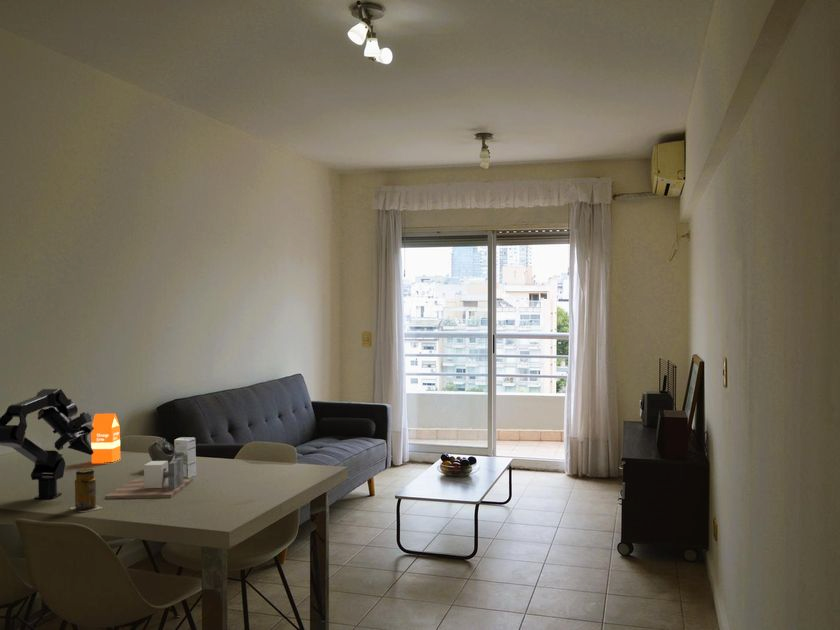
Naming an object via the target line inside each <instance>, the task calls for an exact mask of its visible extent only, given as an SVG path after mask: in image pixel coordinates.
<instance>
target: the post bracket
mask: <svg viewBox="0 0 840 630" xmlns="http://www.w3.org/2000/svg"><path fill="white" fill-rule="evenodd" d="M163 474H164V478H168V484H167V485H165V486H164V487H163V488H144V478H143V479H142V478H141V479H137V478H136V479H131V480H129V481H128V482H126V483H124V484H122V485H121V486H119V487H117V488H116V489H114V490H113V491H111V492H109V493H107V494H106V495H105V496H104V499H106V500H110V499H111V500H113V499H114V500H115V499H116V498H125V499H165V498H167V499H169V498H170V499H171V498H174V496H175V495H177V494H178V493H180V492H181V491H182V490H184V489H185V488H186V487H187V486H189V485H190V484H191V483H192V482H193V481H194V478H193V477H191V478H183V458H176V459H175V458H174V459H172V461H171V462H170V463H168V471H163ZM116 500H117V499H116Z"/></svg>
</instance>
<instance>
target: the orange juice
mask: <svg viewBox="0 0 840 630" xmlns="http://www.w3.org/2000/svg"><path fill="white" fill-rule="evenodd" d="M93 417H94V418H93V420H92V424H91V425H92V426H93V427H94V429H93V431H92V432H91V433H90V434H91V435H90V436H91V438H90V439H91V440H90V441H91V445H90V446H91V448H92V450H93V452H94V453H93V454H92V455H91V464H107V463H106V462H114V461H116V462H118V461H120V460H121V429H120V427H121V425H120V424H119V419H118V418H117V417H118V416H117V415H116V413H95V414H94V416H93ZM119 459H120V460H119ZM117 460H118V461H117ZM104 462H105V463H104ZM114 463H115V462H114Z"/></svg>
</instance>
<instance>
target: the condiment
mask: <svg viewBox="0 0 840 630" xmlns="http://www.w3.org/2000/svg"><path fill="white" fill-rule="evenodd" d="M96 480H97V479H96V478H95V470H94V469H90V468H87V469H85V468H84V469H78V470H77V471H76V472H75V480H74V504H75V505H74V507H73V506H72V507H69V509H70V510H73V511H75V512H79V513H85V512H93V511H96V510H102V509H104V507H102V506H100V505H97V489H96V486H97V483H96ZM96 506H97V507H96Z"/></svg>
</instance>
